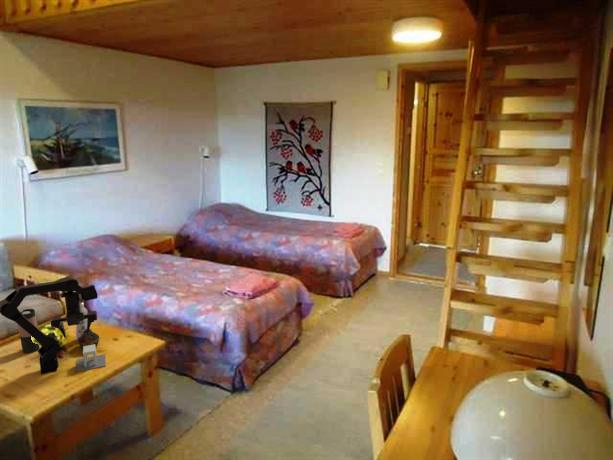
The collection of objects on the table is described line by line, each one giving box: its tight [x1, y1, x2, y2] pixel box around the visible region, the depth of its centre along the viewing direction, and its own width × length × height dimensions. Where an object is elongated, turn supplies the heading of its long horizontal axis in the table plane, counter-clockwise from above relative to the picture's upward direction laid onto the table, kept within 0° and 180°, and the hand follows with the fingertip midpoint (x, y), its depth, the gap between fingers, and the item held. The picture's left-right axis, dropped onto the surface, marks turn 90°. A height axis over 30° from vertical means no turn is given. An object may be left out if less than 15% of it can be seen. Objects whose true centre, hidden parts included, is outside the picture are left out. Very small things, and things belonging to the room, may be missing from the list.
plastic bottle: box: [75, 301, 89, 341], centre depth 227 cm, size 6×7×20 cm
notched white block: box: [82, 344, 98, 367], centre depth 204 cm, size 7×5×7 cm
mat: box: [75, 353, 107, 373], centre depth 205 cm, size 12×12×1 cm
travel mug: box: [17, 308, 41, 354], centre depth 216 cm, size 8×8×20 cm
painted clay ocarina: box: [77, 328, 100, 350], centre depth 220 cm, size 10×15×8 cm, turn 33°
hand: (76, 335), depth 206 cm, fingers open, 9 cm apart
